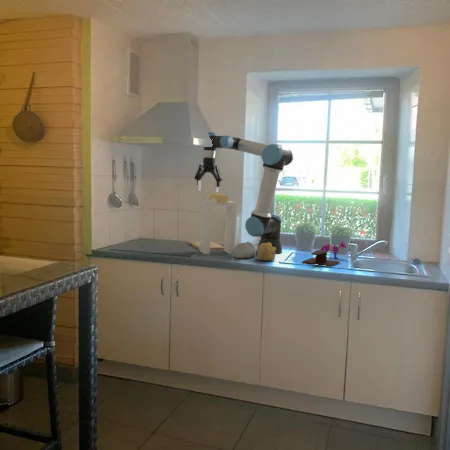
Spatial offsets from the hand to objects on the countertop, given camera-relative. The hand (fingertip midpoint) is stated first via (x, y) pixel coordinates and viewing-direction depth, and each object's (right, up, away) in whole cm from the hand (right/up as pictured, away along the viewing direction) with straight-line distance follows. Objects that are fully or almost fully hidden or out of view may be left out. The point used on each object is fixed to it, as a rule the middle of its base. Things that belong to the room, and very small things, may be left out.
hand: (207, 191), depth 300 cm
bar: (+7, -7, -23) cm, 25 cm away
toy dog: (+73, -41, -20) cm, 86 cm away
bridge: (+6, -37, -22) cm, 44 cm away
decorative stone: (+22, -40, -32) cm, 55 cm away
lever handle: (+63, -43, -41) cm, 86 cm away
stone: (+33, -41, -38) cm, 65 cm away
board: (-1, -35, -2) cm, 35 cm away
